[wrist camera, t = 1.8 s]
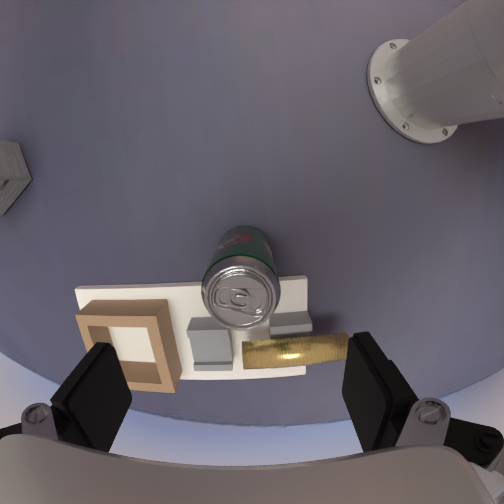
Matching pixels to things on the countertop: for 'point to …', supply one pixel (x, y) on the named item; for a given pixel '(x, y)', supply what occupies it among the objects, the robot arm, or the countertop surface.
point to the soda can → (241, 280)
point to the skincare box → (11, 174)
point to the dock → (182, 332)
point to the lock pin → (294, 351)
